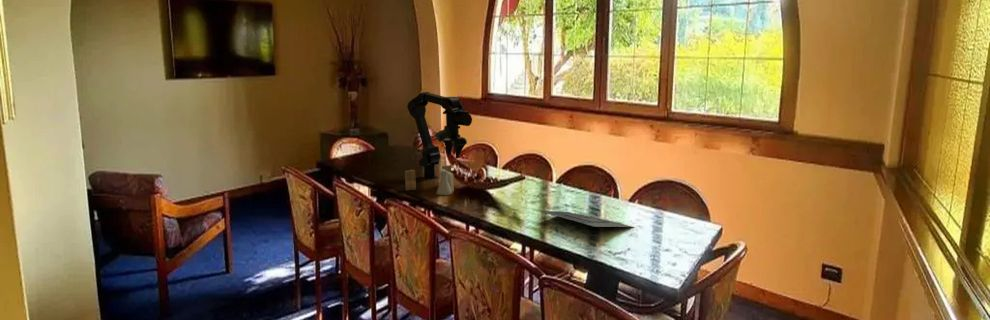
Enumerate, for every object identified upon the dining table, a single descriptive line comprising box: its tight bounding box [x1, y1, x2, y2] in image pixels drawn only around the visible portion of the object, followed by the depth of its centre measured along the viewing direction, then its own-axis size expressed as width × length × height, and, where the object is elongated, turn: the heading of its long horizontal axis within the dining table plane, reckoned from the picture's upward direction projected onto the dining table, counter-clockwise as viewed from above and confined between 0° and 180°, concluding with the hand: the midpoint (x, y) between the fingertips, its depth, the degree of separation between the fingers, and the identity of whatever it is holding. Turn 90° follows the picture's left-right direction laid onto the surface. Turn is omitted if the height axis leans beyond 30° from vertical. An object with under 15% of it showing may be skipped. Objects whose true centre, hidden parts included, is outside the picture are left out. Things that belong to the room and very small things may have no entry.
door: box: [439, 168, 455, 192], centre depth 286 cm, size 12×3×8 cm, turn 28°
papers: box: [540, 210, 633, 228], centre depth 235 cm, size 24×30×4 cm
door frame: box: [404, 164, 453, 191], centre depth 289 cm, size 2×23×9 cm, turn 118°
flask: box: [436, 171, 453, 196], centre depth 278 cm, size 7×7×10 cm
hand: (453, 156), depth 294 cm, fingers open, 9 cm apart
